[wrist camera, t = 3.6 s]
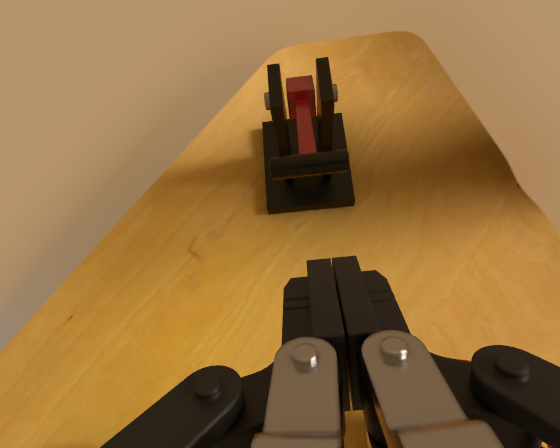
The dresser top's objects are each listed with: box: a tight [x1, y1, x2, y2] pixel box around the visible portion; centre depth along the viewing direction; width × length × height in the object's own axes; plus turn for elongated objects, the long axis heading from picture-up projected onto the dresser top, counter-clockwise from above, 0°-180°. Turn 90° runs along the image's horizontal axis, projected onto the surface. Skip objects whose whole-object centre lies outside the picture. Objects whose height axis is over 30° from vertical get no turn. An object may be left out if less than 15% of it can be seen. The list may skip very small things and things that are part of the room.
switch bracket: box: [262, 57, 355, 214], centre depth 36 cm, size 11×9×13 cm
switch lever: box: [269, 75, 350, 180], centre depth 28 cm, size 12×5×2 cm, turn 4°
